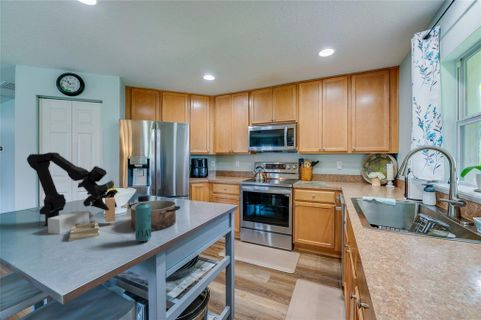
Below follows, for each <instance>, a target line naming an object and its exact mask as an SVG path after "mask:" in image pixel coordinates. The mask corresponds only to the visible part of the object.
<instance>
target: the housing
mask: <svg viewBox="0 0 481 320" xmlns="http://www.w3.org/2000/svg"><path fill="white" fill-rule="evenodd" d="M99 235H100V224H98V222H97V221H96V220H91V221H90V223H89V224H85V225H80V223H76V224H75V226H73V227H72V229H71V230H70V233H69V237H68V242H74V241H78V240H85V239H89V238H94V237H99ZM73 240H74V241H73Z"/></svg>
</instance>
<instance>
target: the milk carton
mask: <svg viewBox="0 0 481 320" xmlns="http://www.w3.org/2000/svg"><path fill="white" fill-rule="evenodd" d="M94 216H95V214H93V213H92V212H91V211H89V210H81V209H78V210H73V211H71V212H67V213H63V214H59V216H55V217H52V218H48V225H47V233H48V234H54V235H62V234H64V233H66V232H69V231H70V232H71V229H72V227H73V226H75V224H76V223H80V225H85V224H91V221H93V217H94Z"/></svg>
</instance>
